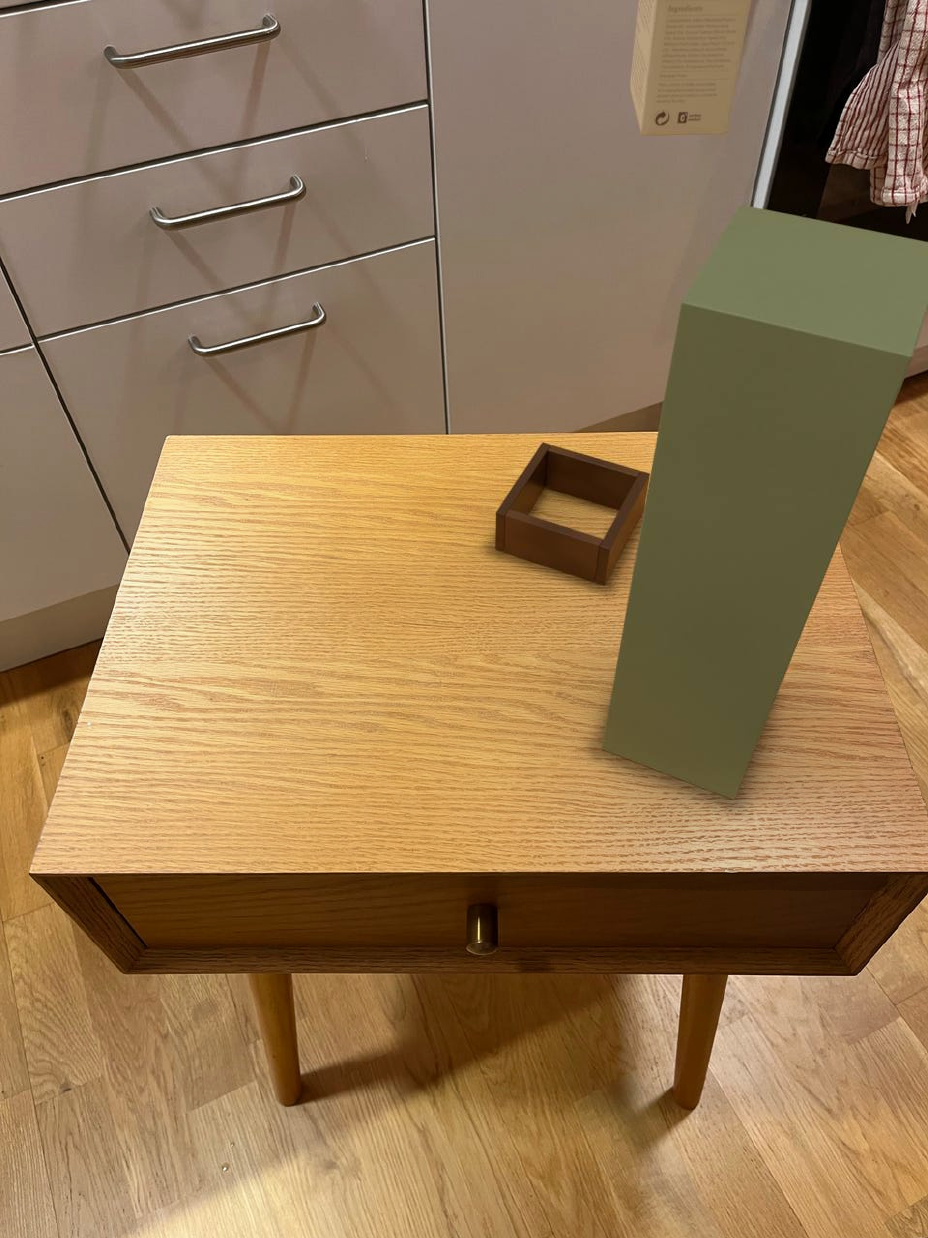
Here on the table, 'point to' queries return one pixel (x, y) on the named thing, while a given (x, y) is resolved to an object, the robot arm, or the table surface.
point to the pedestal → (756, 478)
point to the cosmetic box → (687, 65)
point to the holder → (562, 543)
